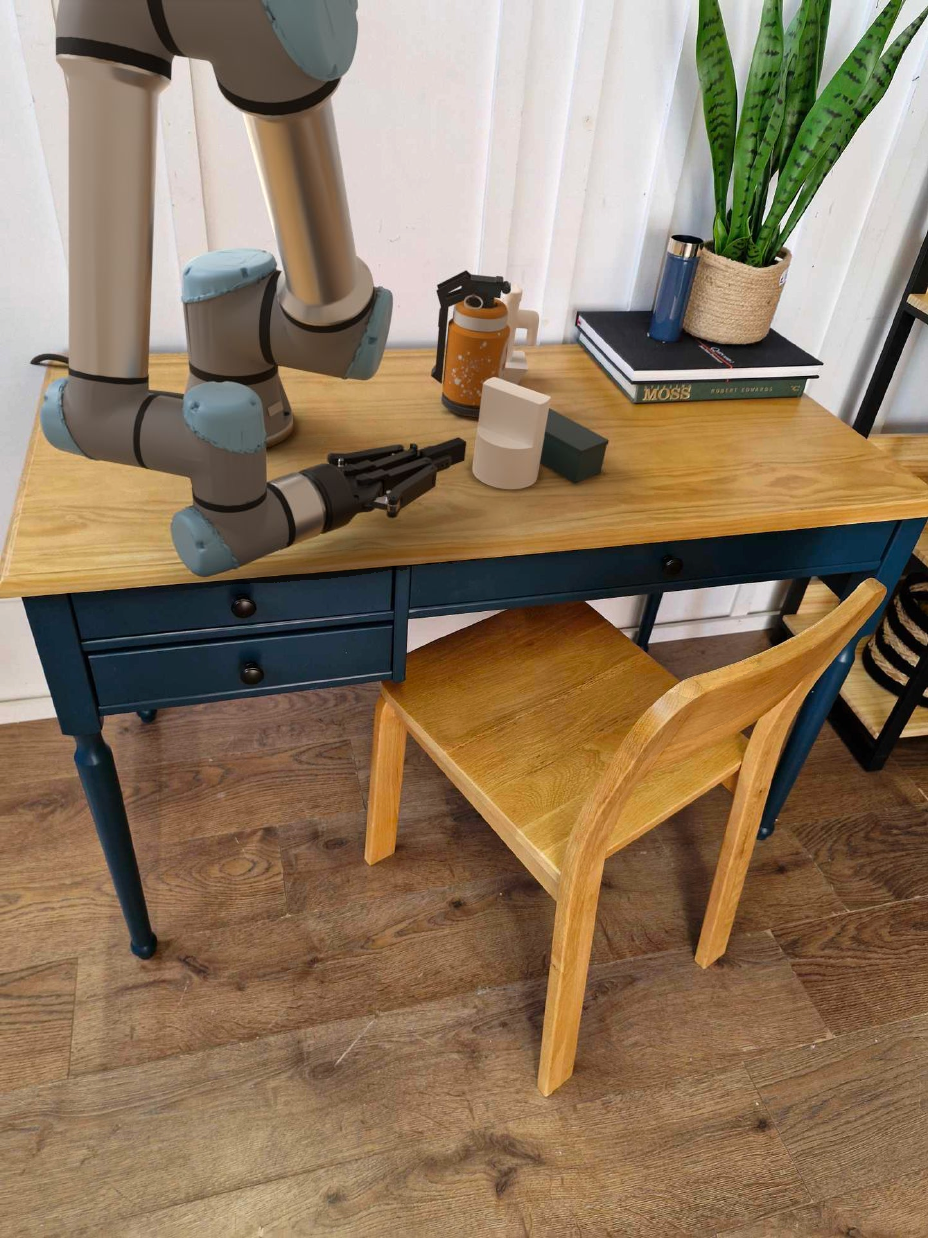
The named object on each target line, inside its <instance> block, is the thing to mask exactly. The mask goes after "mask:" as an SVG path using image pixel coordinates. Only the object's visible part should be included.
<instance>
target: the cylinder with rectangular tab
mask: <svg viewBox="0 0 928 1238" xmlns="http://www.w3.org/2000/svg"><path fill="white" fill-rule="evenodd" d="M551 398H552V397H551V396H550V395H547V394H544V393H541V392H538V391H536V390H533V389H530V388H527V387H524V386H521V385H519V384H517V385H516V384H513V383H510V382H508V381H505V380H502V379H499V378H496V377H492V378H490V379H488V380H486V381H485V382H484V383H483V388H482V396H481V405H480V413H479V416H478V423H477V428H476V434H475V443H474V449H473V458H472V468H471V469H472V474H473V475H474V477H475V478H476V479H477V480H478V481H479V482H482V483H483V484H486V485H487V486H490V487H494V488H497V489H503V490H520V489H525V488H529V487H531V486H532V485H534V484H535V483H536V482H537V480H538V477H539V476H538V475H539V469H540V465H541V463H540V459H541V453H542V447H543V441H544V434H545V428H546V422H547V416H548V410H549V408H550V404H551Z"/></svg>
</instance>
